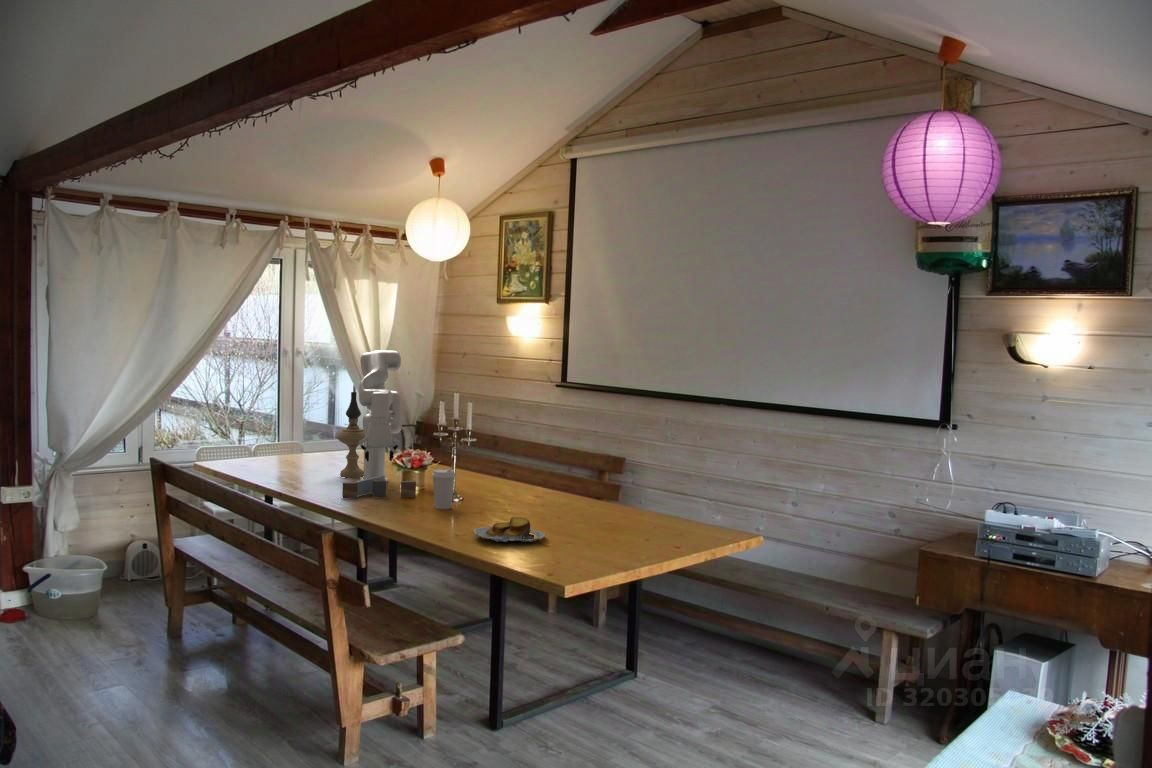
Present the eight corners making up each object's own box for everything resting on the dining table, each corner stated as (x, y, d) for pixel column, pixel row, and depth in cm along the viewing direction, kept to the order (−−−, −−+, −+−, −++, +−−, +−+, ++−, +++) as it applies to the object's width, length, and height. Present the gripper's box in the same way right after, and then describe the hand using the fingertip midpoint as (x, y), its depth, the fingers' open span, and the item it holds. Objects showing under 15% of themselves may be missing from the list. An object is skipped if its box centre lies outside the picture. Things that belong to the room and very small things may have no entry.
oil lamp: (337, 473, 414) (338, 390, 412) (369, 473, 417) (371, 391, 414) (334, 479, 400) (335, 393, 397) (367, 479, 402) (369, 393, 400)
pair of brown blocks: (342, 497, 360) (342, 482, 359) (414, 496, 369) (415, 481, 369) (342, 498, 358) (342, 483, 357) (415, 497, 367) (416, 481, 367)
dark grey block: (372, 494, 369) (372, 478, 368) (384, 494, 370) (384, 478, 370) (373, 498, 362) (374, 481, 362) (385, 497, 364) (386, 481, 363)
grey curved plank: (353, 495, 363) (353, 481, 363) (380, 488, 379) (380, 475, 379) (357, 496, 362) (357, 481, 362) (384, 489, 378) (384, 475, 378)
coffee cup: (443, 511, 342) (444, 473, 341) (425, 507, 348) (426, 470, 346) (459, 507, 350) (460, 470, 349) (442, 503, 355) (443, 467, 354)
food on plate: (459, 536, 305) (460, 517, 305) (518, 528, 320) (518, 510, 320) (499, 552, 285) (499, 532, 285) (559, 543, 301) (560, 524, 300)
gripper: (399, 419, 372) (398, 458, 373) (358, 419, 366) (357, 459, 368) (401, 422, 365) (400, 462, 366) (359, 421, 359) (358, 462, 361)
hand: (379, 460), depth 367 cm, fingers open, 9 cm apart
